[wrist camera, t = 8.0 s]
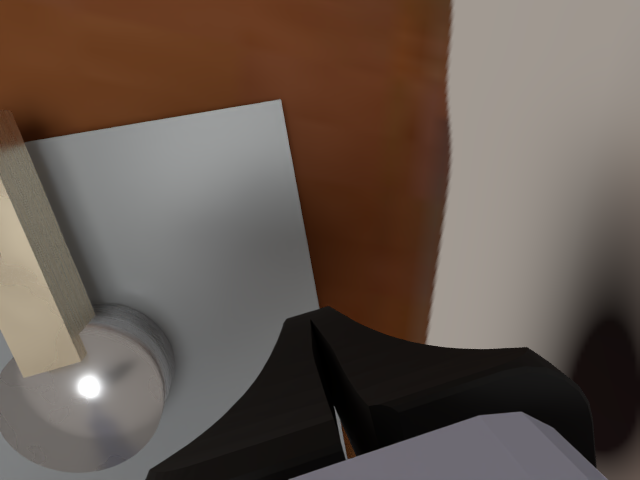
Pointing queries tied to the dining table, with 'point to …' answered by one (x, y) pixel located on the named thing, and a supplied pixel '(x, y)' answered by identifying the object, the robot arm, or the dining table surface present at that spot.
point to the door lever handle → (67, 340)
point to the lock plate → (183, 254)
